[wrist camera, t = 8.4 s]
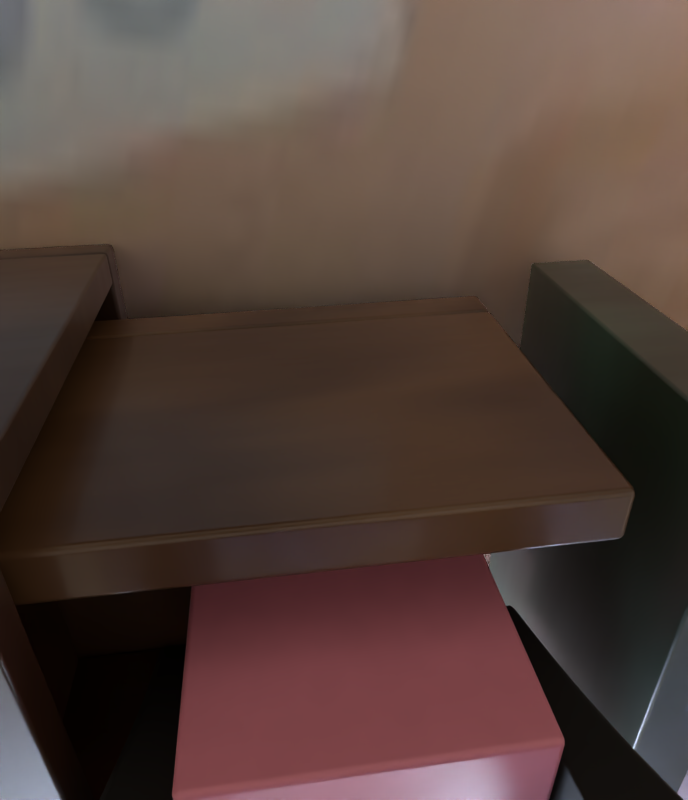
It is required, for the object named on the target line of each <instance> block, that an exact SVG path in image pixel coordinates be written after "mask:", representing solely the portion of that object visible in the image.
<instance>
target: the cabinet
mask: <svg viewBox="0 0 688 800" xmlns="http://www.w3.org/2000/svg"><path fill="white" fill-rule="evenodd" d="M121 319H127V314H126V309H125V305H124V300H123V295H122V290H121V285H120V280H119V276H118V271H117V266H116V261H115V256H114V252H113V248H112V246H111V245H109V244H104V245H86V246H67V247H49V248H31V249H13V250H0V512H1V510H2V508H3V506H4V504H5V502H6V500H7V498H8V496H9V494H10V492H11V490H12V488H13V486H14V484H15V482H16V480H17V478H18V476H19V474H20V472H21V469H22V467H23V465H24V463H25V461H26V459H27V457H28V455H29V453H30V451H31V449H32V447H33V445H34V443H35V441H36V439H37V437H38V435H39V433H40V431H41V429H42V427H43V425H44V422H45V420H46V418H47V416H48V414H49V412H50V410H51V408H52V406H53V404H54V402H55V400H56V398H57V396H58V394H59V392H60V390H61V388H62V386H63V384H64V382H65V380H66V378H67V375H68V373H69V371H70V369H71V367H72V365H73V363H74V361H75V359H76V357H77V355H78V353H79V351H80V349H81V347H82V345H83V343H84V341H85V339H86V337H87V335H88V333H89V331H90V328H91V326H92V324H93V322H94V321H106V320H121ZM0 800H94V797H93V795H92V792H91V790H90V787H89V785H88V782H87V780H86V778H85V775H84V773H83V770H82V768H81V765H80V763H79V760H78V758H77V756H76V753H75V751H74V748H73V746H72V743H71V741H70V738H69V736H68V734H67V731H66V729H65V726H64V724H63V721H62V719H61V716H60V714H59V712H58V709H57V707H56V704H55V702H54V699H53V697H52V694H51V692H50V690H49V687H48V685H47V682H46V680H45V677H44V675H43V672H42V670H41V668H40V665H39V663H38V660H37V658H36V655H35V653H34V650H33V648H32V646H31V643H30V641H29V638H28V636H27V633H26V631H25V628H24V626H23V624H22V621H21V619H20V616H19V614H18V611H17V609H16V606H15V604H14V602H13V599H12V597H11V594H10V592H9V589H8V587H7V584H6V582H5V580H4V577H3V575H2V572H1V570H0Z"/></svg>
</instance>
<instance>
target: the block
mask: <svg viewBox="0 0 688 800" xmlns="http://www.w3.org/2000/svg"><path fill="white" fill-rule="evenodd" d="M564 745H565V740H564V737H563V735H562V732H561V730H560V728H559V726H558V723H557V721H556V719H555V716H554V714H553V712H552V710H551V707H550V705H549V703H548V701H547V698H546V696H545V694H544V691H543V689H542V687H541V685H540V682H539V680H538V678H537V676H536V673H535V671H534V669H533V667H532V664H531V662H530V660H529V657H528V655H527V653H526V651H525V648H524V646H523V644H522V642H521V639H520V637H519V635H518V632H517V630H516V628H515V626H514V623H513V621H512V619H511V617H510V614H509V612H508V610H507V607H506V605H505V603H504V601H503V598H502V596H501V594H500V592H499V589H498V587H497V585H496V582H495V580H494V578H493V576H492V573H491V571H490V569H489V567H488V564H487V562H486V560H485V558H484V555H483V554H479V555H470V556H461V557H452V558H443V559H434V560H425V561H416V562H407V563H397V564H388V565H379V566H370V567H361V568H352V569H343V570H334V571H325V572H316V573H307V574H298V575H289V576H280V577H270V578H261V579H252V580H243V581H234V582H225V583H216V584H207V585H198V586H191V597H190V607H189V618H188V628H187V639H186V650H185V660H184V671H183V682H182V692H181V703H180V714H179V724H178V735H177V746H176V756H175V767H174V778H173V788H172V797H173V800H549V799H550V795H551V792H552V788H553V785H554V781H555V777H556V774H557V770H558V767H559V763H560V760H561V756H562V752H563V749H564Z"/></svg>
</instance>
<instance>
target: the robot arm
mask: <svg viewBox="0 0 688 800" xmlns="http://www.w3.org/2000/svg"><path fill="white" fill-rule="evenodd" d="M506 607H507V610H508V612H509V614H510V617H511V619H512V621H513V623H514V626H515V628H516V630H517V632H518V635H519V637H520V639H521V642H522V644H523V646H524V648H525V651H526V653H527V655H528V657H529V660H530V662H531V664H532V667H533V669H534V671H535V673H536V676H537V678H538V680H539V682H540V685H541V687H542V689H543V691H544V694H545V696H546V698H547V701H548V703H549V705H550V707H551V710H552V712H553V714H554V716H555V719H556V721H557V723H558V726H559V728H560V730H561V732H562V735H563V737H564V740H565V745H564V749H563V752H562V756H561V760H560V763H559V767H558V770H557V774H556V777H555V781H554V785H553V788H552V792H551V795H550V799H549V800H688V771H687V773H686V776H685V778H684V780H683V782H682V784H681V786H680V788H679V790H678V793H676V792H675V791H674V790H673V789H672V788H671V787H670V786H669V785H668V784H667V783H666V782H665V781H664V780H663V779H662V778H661V777H660V775H659V774H658V773H657V772H656V771H655V770H654V769H653V768H652V767H651V766H650V765H649V764H648V763H647V762H646V761H645V760H644V759H643V758H642V757H641V756H640V755H639V754H638V753H637V752H636V751H635V750H634V749H633V748H632V746H631V745H630V744H629V743H628V742H627V741H626V740H625V739H624V738H623V737H622V736H621V735H620V734H619V733H618V731H617V730H616V729H615V728H614V727H613V726H612V725H611V724H610V722H609V721H608V720H607V719H606V718H605V717H604V716H603V715H602V714H601V712H600V711H599V710H598V709H597V708H596V707H595V706H594V705H593V703H592V702H591V701H590V700H589V699H588V698H587V697H586V696H585V694H584V693H583V692H582V691H581V690H580V689H579V687H578V686H577V685H576V684H575V683H574V682H573V681H572V679H571V678H570V677H569V676H568V675H567V673H566V672H565V671H564V670H563V669H562V667H561V666H560V665H559V664H558V663H557V661H556V660H555V659H554V658H553V656H552V655H551V654H550V653H549V652H548V650H547V649H546V648H545V647H544V645H543V644H542V643H541V642H540V640H539V639H538V638H537V637H536V635H535V634H534V633H533V632H532V630H531V629H530V628H529V626H528V625H527V624H526V623H525V621H524V620H523V619H522V617H521V616H520V615H519V614H518V612H517V611H516V610H515V609H514V608H513V607H512V606H510V605H509V606H506ZM185 650H186V644H180V645H172V646H166V647H165V648H164V649H162V650H161V651H160V653H159V656H158V659H157V662H156V666H155V669H154V672H153V674H152V677H151V680H150V683H149V686H148V688H147V691H146V694H145V696H144V699H143V701H142V704H141V707H140V709H139V712H138V714H137V716H136V719H135V721H134V724H133V726H132V728H131V731H130V733H129V736H128V738H127V740H126V743H125V745H124V747H123V749H122V751H121V754H120V756H119V758H118V760H117V762H116V765H115V767H114V769H113V771H112V773H111V776H110V778H109V780H108V782H107V784H106V787H105V789H104V791H103V793H102V795H101V797H100V799H99V800H173V797H172V788H173V778H174V767H175V756H176V746H177V735H178V724H179V714H180V703H181V692H182V682H183V671H184V660H185Z"/></svg>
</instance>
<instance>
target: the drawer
mask: <svg viewBox="0 0 688 800" xmlns="http://www.w3.org/2000/svg"><path fill="white" fill-rule="evenodd" d="M488 553H491V556H490V564H489V569H490V571H491V573H492V576H493V578H494V580H495V582H496V585H497V587H498V589H499V592H500V594H501V596H502V598H503V601H504V603H505V605H506V606H509V605H510V606H512V607H513V608H514V609H515V610H516V611H517V612H518V614H519V615H520V616H521V617H522V619H523V620H524V621H525V623H526V624H527V625H528V626H529V628H530V629H531V630H532V632H533V633H534V634H535V635H536V637H537V638H538V639H539V640H540V642H541V643H542V644H543V645H544V647H545V648H546V649H547V650H548V652H549V653H550V654H551V655H552V656H553V658H554V659H555V660H556V661H557V663H558V664H559V665H560V666H561V667H562V669H563V670H564V671H565V672H566V673H567V675H568V676H569V677H570V678H571V679H572V681H573V682H574V683H575V684H576V685H577V686H578V687H579V689H580V690H581V691H582V692H583V693H584V694H585V696H586V697H587V698H588V699H589V700H590V701H591V702H592V703H593V705H594V706H595V707H596V708H597V709H598V710H599V711H600V712H601V714H602V715H603V716H604V717H605V718H606V719H607V720H608V721H609V722H610V724H611V725H612V726H613V727H614V728H615V729H616V730H617V731H618V733H619V734H620V735H621V736H622V737H623V738H624V739H625V740H626V741H627V742H628V743H629V744H630V745H631V746H632V748H633V749H634V750H635V751H636V752H637V753H638V754H639V755H640V756H641V757H642V758H643V759H644V760H645V761H646V762H647V763H648V764H649V765H650V766H651V767H652V768H653V769H654V770H655V771H656V772H657V773H658V774H659V775H660V777H661V778H662V779H663V780H664V781H665V782H666V783H667V784H668V785H669V786H670V787H671V788H672V789H673V790H674V791H675V792H676V793H678V790H679V788H680V786H681V784H682V782H683V780H684V778H685V776H686V773H687V771H688V331H687V330H685V329H684V328H683V327H681V326H680V325H678V324H677V323H676V322H674V321H673V320H671V319H670V318H669V317H667V316H666V315H664V314H663V313H662V312H660V311H659V310H658V309H656V308H655V307H653V306H652V305H651V304H649V303H648V302H646V301H645V300H644V299H642V298H641V297H639V296H638V295H637V294H635V293H634V292H632V291H631V290H630V289H628V288H627V287H625V286H624V285H623V284H621V283H620V282H618V281H617V280H616V279H614V278H613V277H611V276H610V275H609V274H607V273H606V272H605V271H603V270H602V269H600V268H599V267H598V266H596V265H595V264H593V263H592V262H591V261H589V260H577V261H561V262H545V263H533V264H532V265H531V272H530V279H529V286H528V294H527V301H526V308H525V315H524V322H523V329H522V336H521V343H520V348H519V347H518V346H517V345H516V344H515V342H514V341H513V340H512V339H511V337H510V336H509V335H508V334H507V333H506V331H505V330H504V329H503V328H502V326H501V325H500V324H499V323H498V322H497V320H496V319H495V318H494V317H493V316H492V314H491V313H489V312H488V310H487V308H486V307H485V306H484V305H483V304H482V302H481V301H480V300H479V299H478V297H475V296H465V297H450V298H435V299H420V300H405V301H390V302H375V303H360V304H345V305H330V306H315V307H301V308H286V309H271V310H256V311H241V312H226V313H211V314H196V315H181V316H166V317H151V318H136V319H121V320H106V321H94V322H93V324H92V326H91V328H90V331H89V333H88V335H87V337H86V339H85V341H84V343H83V345H82V347H81V349H80V351H79V353H78V355H77V357H76V359H75V361H74V363H73V365H72V367H71V369H70V371H69V373H68V375H67V378H66V380H65V382H64V384H63V386H62V388H61V390H60V392H59V394H58V396H57V398H56V400H55V402H54V404H53V406H52V408H51V410H50V412H49V414H48V416H47V418H46V420H45V422H44V425H43V427H42V429H41V431H40V433H39V435H38V437H37V439H36V441H35V443H34V445H33V447H32V449H31V451H30V453H29V455H28V457H27V459H26V461H25V463H24V465H23V467H22V469H21V472H20V474H19V476H18V478H17V480H16V482H15V484H14V486H13V488H12V490H11V492H10V494H9V496H8V498H7V500H6V502H5V504H4V506H3V508H2V510H1V512H0V570H1V572H2V575H3V577H4V580H5V582H6V584H7V587H8V589H9V592H10V594H11V597H12V599H13V602H14V604H15V606H16V609H17V611H18V614H19V616H20V619H21V621H22V624H23V626H24V628H25V631H26V633H27V636H28V638H29V641H30V643H31V646H32V648H33V650H34V653H35V655H36V658H37V660H38V663H39V665H40V668H41V670H42V672H43V675H44V677H45V680H46V682H47V685H48V687H49V690H50V692H51V694H52V697H53V699H54V702H55V704H56V707H57V709H58V712H59V714H60V716H61V719H62V721H63V724H64V726H65V729H66V731H67V734H68V736H69V738H70V741H71V743H72V746H73V748H74V751H75V753H76V756H77V758H78V760H79V763H80V765H81V768H82V770H83V773H84V775H85V778H86V780H87V782H88V785H89V787H90V790H91V792H92V795H93V797H94V800H99V799H100V797H101V795H102V793H103V791H104V789H105V787H106V784H107V782H108V780H109V778H110V776H111V773H112V771H113V769H114V767H115V765H116V762H117V760H118V758H119V756H120V754H121V751H122V749H123V747H124V745H125V743H126V740H127V738H128V736H129V733H130V731H131V728H132V726H133V724H134V721H135V719H136V716H137V714H138V712H139V709H140V707H141V704H142V701H143V699H144V696H145V694H146V691H147V688H148V686H149V683H150V680H151V677H152V674H153V672H154V669H155V666H156V662H157V659H158V656H159V653H160V651H161V650H162V649H164V648H165V647H166V646H172V645H180V644H186V639H187V628H188V618H189V607H190V597H191V586H198V585H207V584H216V583H225V582H234V581H243V580H252V579H261V578H270V577H280V576H289V575H298V574H307V573H316V572H325V571H334V570H343V569H352V568H361V567H370V566H379V565H388V564H397V563H407V562H416V561H425V560H434V559H443V558H452V557H461V556H470V555H479V554H488Z"/></svg>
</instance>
